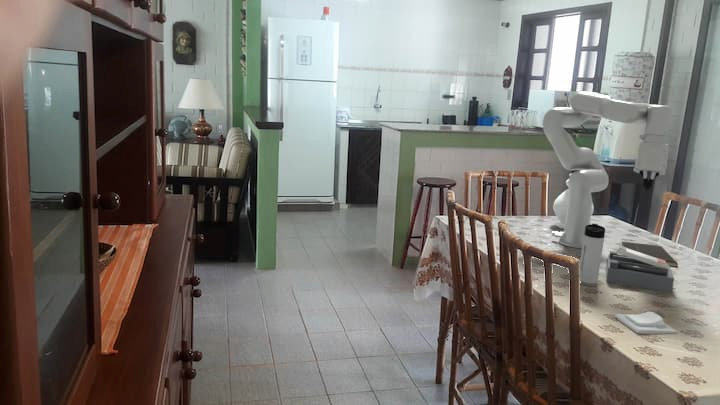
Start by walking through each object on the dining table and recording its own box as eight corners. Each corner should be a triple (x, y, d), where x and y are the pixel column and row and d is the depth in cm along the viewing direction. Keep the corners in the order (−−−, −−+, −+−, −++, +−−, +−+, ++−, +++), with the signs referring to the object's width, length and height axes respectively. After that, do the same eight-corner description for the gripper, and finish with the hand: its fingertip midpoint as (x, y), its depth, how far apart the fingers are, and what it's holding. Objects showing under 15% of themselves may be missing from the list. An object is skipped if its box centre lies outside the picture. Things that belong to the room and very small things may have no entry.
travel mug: (596, 281, 196) (605, 224, 191) (597, 287, 190) (606, 229, 185) (577, 278, 198) (585, 222, 193) (577, 284, 192) (586, 226, 187)
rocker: (616, 252, 198) (618, 247, 198) (615, 249, 203) (617, 244, 202) (665, 269, 193) (667, 264, 193) (663, 265, 198) (665, 260, 197)
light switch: (681, 323, 157) (639, 321, 155) (678, 337, 158) (636, 335, 156) (655, 307, 167) (616, 305, 165) (652, 321, 168) (613, 319, 166)
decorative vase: (547, 220, 279) (554, 170, 274) (585, 224, 277) (593, 173, 271) (554, 230, 262) (561, 176, 256) (595, 233, 260) (603, 179, 254)
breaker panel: (606, 281, 196) (609, 262, 195) (605, 268, 211) (608, 250, 209) (671, 292, 189) (675, 272, 187) (666, 278, 203) (669, 259, 202)
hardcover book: (631, 262, 221) (632, 256, 221) (620, 246, 243) (621, 241, 243) (677, 268, 218) (678, 262, 217) (661, 251, 239) (662, 246, 239)
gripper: (632, 138, 207) (624, 188, 211) (679, 142, 201) (670, 193, 205) (631, 136, 214) (624, 185, 218) (676, 140, 208) (667, 190, 212)
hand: (646, 189), depth 211 cm, fingers closed
